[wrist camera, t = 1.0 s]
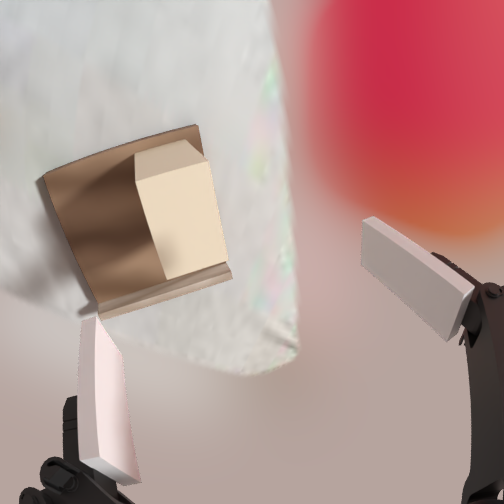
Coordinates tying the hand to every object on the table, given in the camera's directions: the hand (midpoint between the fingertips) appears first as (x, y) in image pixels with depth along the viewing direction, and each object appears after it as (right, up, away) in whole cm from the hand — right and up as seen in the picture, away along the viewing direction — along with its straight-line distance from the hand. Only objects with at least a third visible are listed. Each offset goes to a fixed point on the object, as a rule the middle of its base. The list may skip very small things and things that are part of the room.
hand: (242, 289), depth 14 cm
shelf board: (-12, +5, +18) cm, 22 cm away
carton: (-8, +8, +16) cm, 19 cm away
